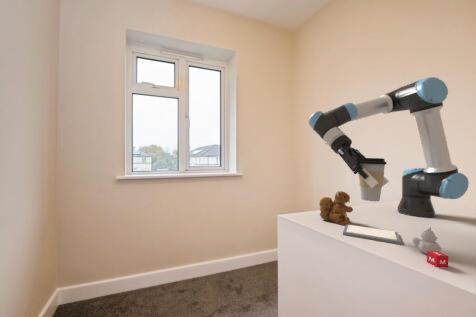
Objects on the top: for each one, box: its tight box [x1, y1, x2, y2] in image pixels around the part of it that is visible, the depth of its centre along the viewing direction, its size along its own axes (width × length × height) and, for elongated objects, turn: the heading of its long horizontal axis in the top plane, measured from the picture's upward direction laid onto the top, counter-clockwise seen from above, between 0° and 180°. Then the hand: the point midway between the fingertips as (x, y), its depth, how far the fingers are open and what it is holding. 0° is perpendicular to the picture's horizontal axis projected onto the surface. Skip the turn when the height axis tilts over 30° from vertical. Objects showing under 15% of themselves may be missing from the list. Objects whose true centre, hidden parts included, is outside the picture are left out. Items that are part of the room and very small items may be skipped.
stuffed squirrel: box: [318, 190, 354, 226], centre depth 100 cm, size 10×14×13 cm
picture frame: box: [342, 224, 402, 246], centre depth 83 cm, size 17×12×1 cm
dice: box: [426, 251, 449, 268], centre depth 60 cm, size 3×3×3 cm
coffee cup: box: [358, 157, 387, 202], centre depth 83 cm, size 9×9×15 cm
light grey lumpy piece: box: [411, 226, 442, 255], centre depth 67 cm, size 5×7×8 cm
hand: (380, 184), depth 80 cm, fingers closed on coffee cup, 9 cm apart
